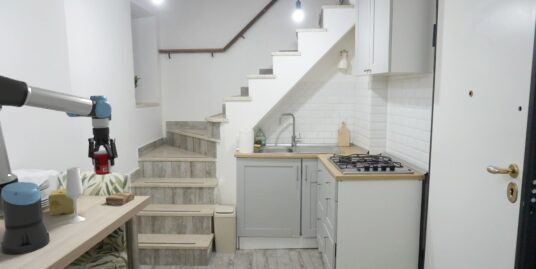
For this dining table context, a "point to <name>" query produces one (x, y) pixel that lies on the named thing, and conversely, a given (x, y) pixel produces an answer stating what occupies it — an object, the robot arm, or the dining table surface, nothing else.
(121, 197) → the plinth
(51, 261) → the dining table surface
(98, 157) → the canned food
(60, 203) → the cheese
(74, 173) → the champagne flute
